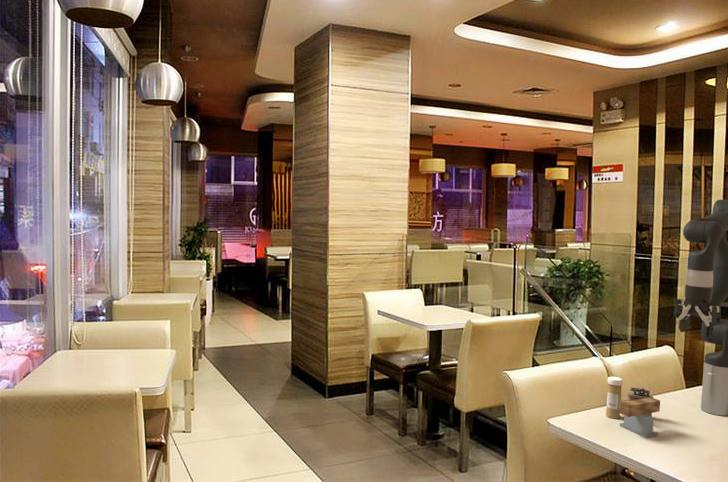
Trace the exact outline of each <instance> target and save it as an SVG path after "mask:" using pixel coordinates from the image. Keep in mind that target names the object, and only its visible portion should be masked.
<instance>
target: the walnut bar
mask: <svg viewBox="0 0 728 482" xmlns="http://www.w3.org/2000/svg"><path fill="white" fill-rule="evenodd" d="M660 406H661V400H660V399H657V398H655V397H653V398H652V397H651V398H645V399H639V400H633V401H628V400H627V401H621V404H620V415H623V416H624V415H625V416H627V417H631V416H637V415H642V414H648V413H652V414H653V413H657V412H658V413H659V412H660V409H661V407H660Z"/></svg>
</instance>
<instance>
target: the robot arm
mask: <svg viewBox="0 0 728 482" xmlns="http://www.w3.org/2000/svg"><path fill="white" fill-rule="evenodd" d="M727 231H728V199H717V200H715V202H714V204H713V207H712V213H711V214H708V215H707V216H705V217H699V218H695V219H691V220H689V221H688V222H686V224H685V225H684V227H683V231H682V233H683V234H682V235H683V238H684V239H685V240H686V241H687V242H689V243H692V244H694V243H695V244H706V246H705V248H703V249H700V250H699V249H698V250H691V251H690V252H689V253H688V256H687V257H688V259H687V266H686V267H687V269H686V270H687V271H686V275H685V283H684V284H685V285H684V296H683V297H684V299H683V298H676V299H675V301H674V308H673V317H674V318H677V319H678V330H679V332H680V333H686V332H687V325H688V320H687V319H688V318H689V317H690V316H695V317H697V318H700V319H701V320H702V322H701V332H700V333H701V334H700V335H701V339H702V340H703V341H704V342H705V343H708V344H712V345H718V346H722V349H721V350H720V351H714V352H708V353H706V354H705V355H704V360H703V361H704V363H703V372H702V373H703V374H702V388H701V397H700V398H701V400H700V409H701V410H702V411H703V412H706V413H708V414H711V415H716V416H722V417H723V416H728V319H725V318H721V317H722V314H721V313H722V307H721V305H722V304H723V303H724V301H726V299H727V298H728V240H727V237H726V234H725V233H726V232H727ZM684 307H685V308H684ZM683 309H684V310H683Z"/></svg>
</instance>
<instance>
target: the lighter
mask: <svg viewBox="0 0 728 482" xmlns="http://www.w3.org/2000/svg"><path fill="white" fill-rule="evenodd" d="M629 391H630V392H628V393H627V401H633V400H639V399H645V398H651V397H652V398H654V396H653V395H650V394H651V390H650V389H647V388H646V389H645V387H641V386H640V388H638V387H635V386H630V390H629ZM648 415H650V416H652V417H653V413H648Z"/></svg>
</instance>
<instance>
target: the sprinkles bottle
mask: <svg viewBox="0 0 728 482" xmlns="http://www.w3.org/2000/svg"><path fill="white" fill-rule="evenodd" d="M622 386H623V378H621V377H618V376H608V377H607V394H606V395H607V396H606V412H605V416H606V417H608V418H610V419H611V418H612V419H615V420H616V419H620V417H621V414H620V404H621V402H622Z"/></svg>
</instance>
